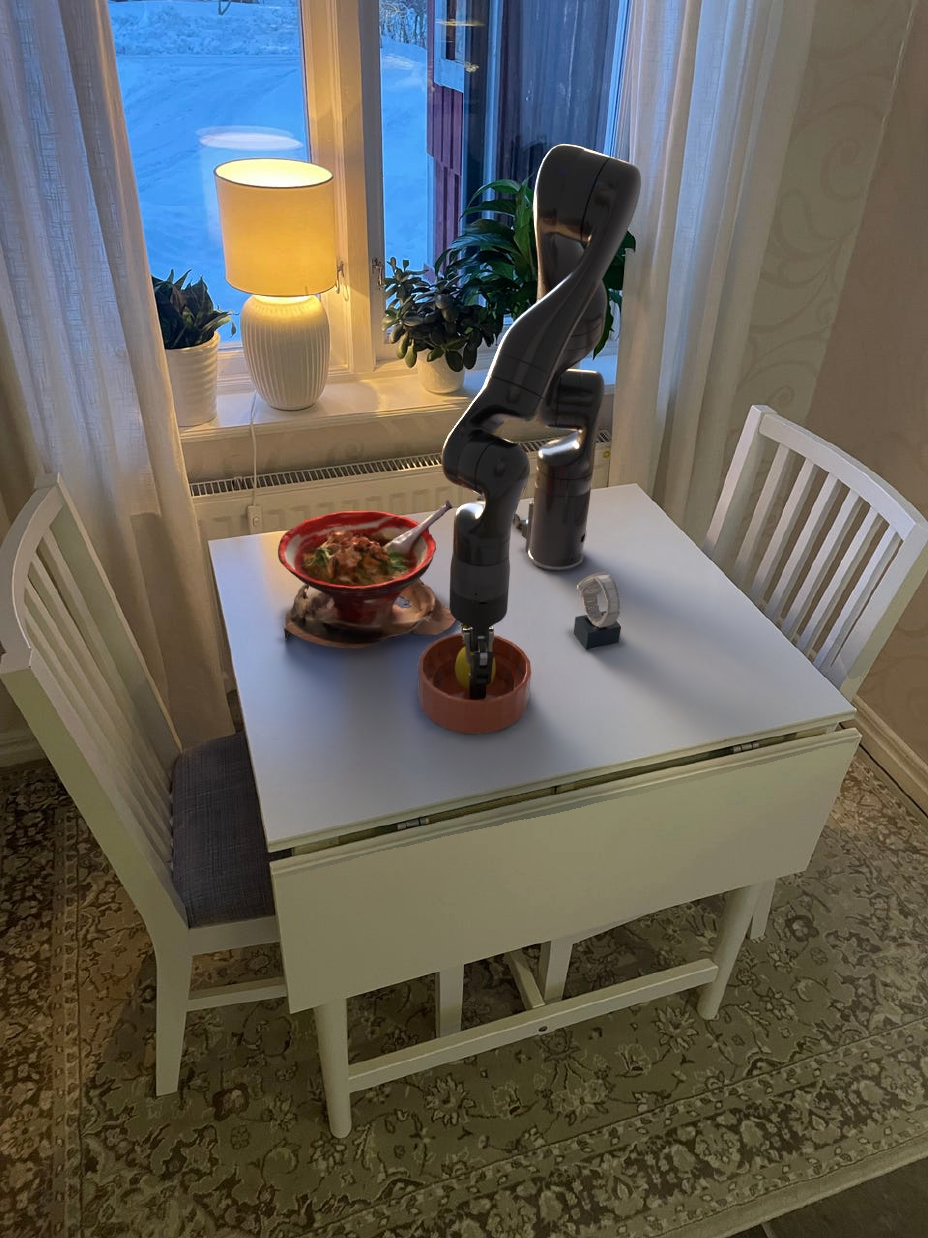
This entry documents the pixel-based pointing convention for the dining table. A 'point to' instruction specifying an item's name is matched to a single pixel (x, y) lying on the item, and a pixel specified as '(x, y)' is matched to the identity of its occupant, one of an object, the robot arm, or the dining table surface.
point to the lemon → (467, 670)
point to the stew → (362, 578)
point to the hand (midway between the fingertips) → (474, 683)
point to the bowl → (452, 700)
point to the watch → (598, 612)
